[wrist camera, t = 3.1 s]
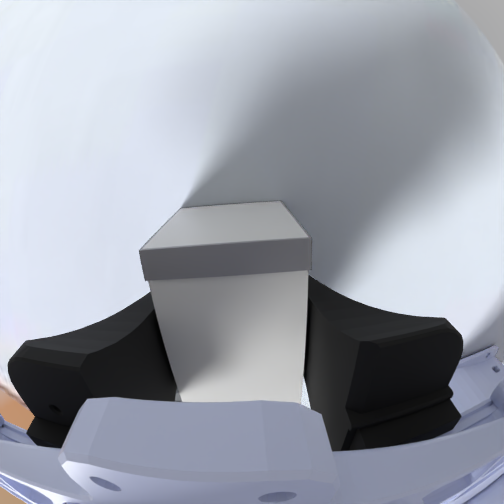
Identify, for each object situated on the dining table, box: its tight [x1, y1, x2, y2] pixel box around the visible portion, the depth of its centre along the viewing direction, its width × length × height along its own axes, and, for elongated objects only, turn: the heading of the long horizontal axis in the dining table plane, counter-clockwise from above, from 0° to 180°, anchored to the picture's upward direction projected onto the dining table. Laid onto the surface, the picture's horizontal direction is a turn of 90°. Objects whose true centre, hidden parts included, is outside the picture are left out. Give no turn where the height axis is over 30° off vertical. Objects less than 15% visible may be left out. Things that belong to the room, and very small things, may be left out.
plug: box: [139, 201, 312, 404], centre depth 10 cm, size 4×9×5 cm, turn 3°
